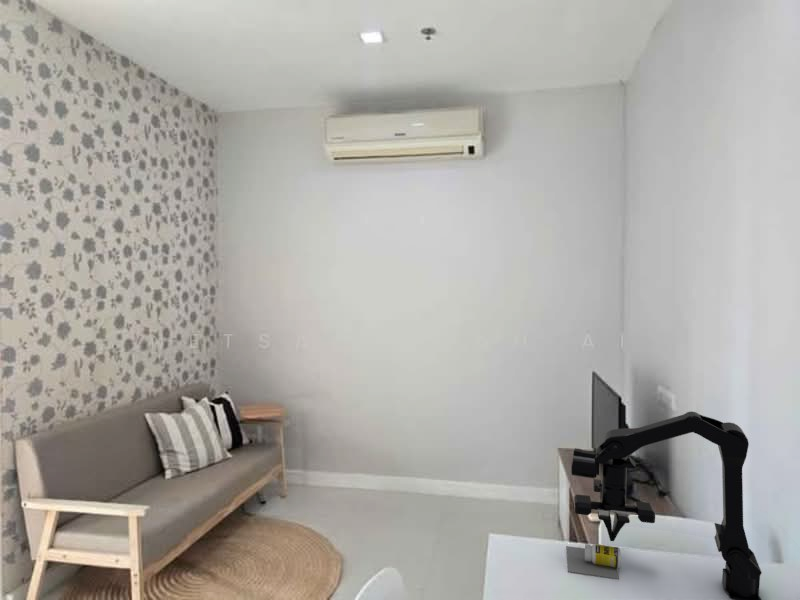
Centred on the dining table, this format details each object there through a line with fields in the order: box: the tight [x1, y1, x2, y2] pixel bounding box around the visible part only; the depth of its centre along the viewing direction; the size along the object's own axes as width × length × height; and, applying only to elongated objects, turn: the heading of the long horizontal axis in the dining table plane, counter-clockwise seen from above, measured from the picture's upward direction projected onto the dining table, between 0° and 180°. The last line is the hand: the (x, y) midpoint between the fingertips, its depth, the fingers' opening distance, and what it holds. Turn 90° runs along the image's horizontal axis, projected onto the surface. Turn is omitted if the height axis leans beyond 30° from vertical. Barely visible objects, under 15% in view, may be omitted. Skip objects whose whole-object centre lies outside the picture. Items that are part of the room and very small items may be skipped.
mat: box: [565, 545, 620, 581], centre depth 139 cm, size 12×12×1 cm
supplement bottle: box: [584, 543, 621, 569], centre depth 138 cm, size 5×5×8 cm
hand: (611, 540), depth 137 cm, fingers closed
